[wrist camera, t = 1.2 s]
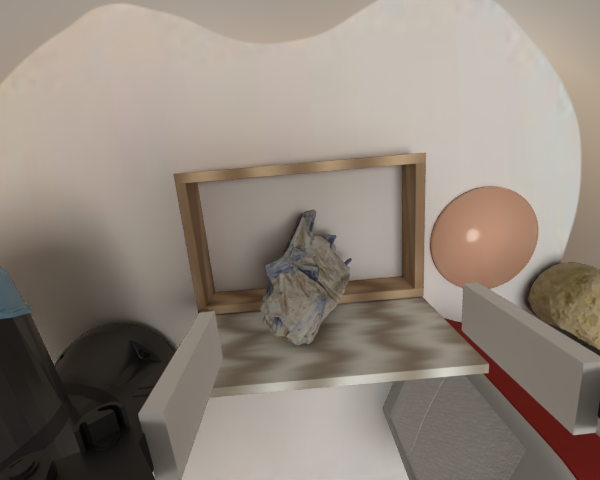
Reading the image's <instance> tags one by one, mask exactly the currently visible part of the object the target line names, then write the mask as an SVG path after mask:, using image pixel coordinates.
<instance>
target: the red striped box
mask: <svg viewBox="0 0 600 480" xmlns="http://www.w3.org/2000/svg"><path fill="white" fill-rule="evenodd" d="M444 319H445V318H444ZM445 320H446V321H447V322H448V323H449V324H450V325H451V326H452V327H453V328H454V329H455V330H456V331H457V332H458V333H459V334H460V335H461V336H462V337H463V338H464V339H465V340H466V341H467V342H468V343H469V344H470V345H471V346H472V347H473V348H474V349H475V350H476V351H477V352H478V353H479V354H480V355H481V356H482V357H483V358H484V359H485V360H486V361H487V362H488V363H489V373H483V374H472V375H460V376H449V377H437V378H426V379H414V380H403V381H394V383H393V385H392V387H391V390H390V392H389V395H388V397H387V399H386V402H385V404H384V406H383V410H384V413H385V416H386V419H387V421H388V424H389V427H390V429H391V432H392V435H393V437H394V440H395V443H396V445H397V448H398V451H399V453H400V456H401V459H402V462H403V464H404V467H405V470H406V472H407V475H408V478H409V480H600V418H599V417H598V422H597V428H596V433H588V434H580V435H573V434H572V433H570V432H569V431H568V430H567V429H566V428H565V427H564V426H563V425H562V424H561V423H560V422H559V421H558V420H557V419H556V418H554V417H553V416H552V415H551V414H550V413H549V412H548V411H547V410H546V409H545V408H544V407H543V406H542V405H541V404H540V403H538V402H537V401H536V400H535V399H534V398H533V397H532V396H531V395H530V394H529V393H528V392H527V391H526V390H525V389H524V388H522V387H521V386H520V385H519V384H518V383H517V382H516V381H515V380H514V379H513V378H512V377H511V376H510V375H509V374H507V373H506V372H505V371H504V370H503V369H502V368H501V367H500V366H499V365H498V364H497V363H496V362H495V361H494V360H493V359H491V358H490V357H489V356H488V355H487V354H486V353H485V352H484V351H483V350H482V349H481V348H480V347H479V346H478V345H477V344H475V343H474V342H473V341H472V340H471V339H470V338H469V337H468V336H467V335H466V334H465V333H464V332H463V331H462V323H460V322H456V321H453V320H449V319H445Z"/></svg>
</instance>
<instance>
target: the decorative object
mask: <svg viewBox="0 0 600 480" xmlns="http://www.w3.org/2000/svg"><path fill="white" fill-rule="evenodd" d="M527 301H528V302H530V306H531V307H532V310H533V313H535V314H536V315H537V316H538V318H539V319H540V320H542V321H543V322H544V323H546V324H551V325H553V326H556V327H559V328H561V329H564V330H566V331H568V332H570V333H571V334H573V335H575V336H577V337H578V339H582V340H583V341H585V342H587V343H588V344H589V345H592V346H594V347H595V348H597V349H599V350H600V269H597V268H595V267H592V266H590V265H586V264H580V263H575V262H568V263H560V264H557V265H553V266H551V267H550V268H549V269H546V270H545V271H544V272H542V273H541V274H540V275H539V277H538V278H537V279H536V280H535V282H534V283H533V285H532V287H531V290H530V293H529V295H528V298H527Z"/></svg>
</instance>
